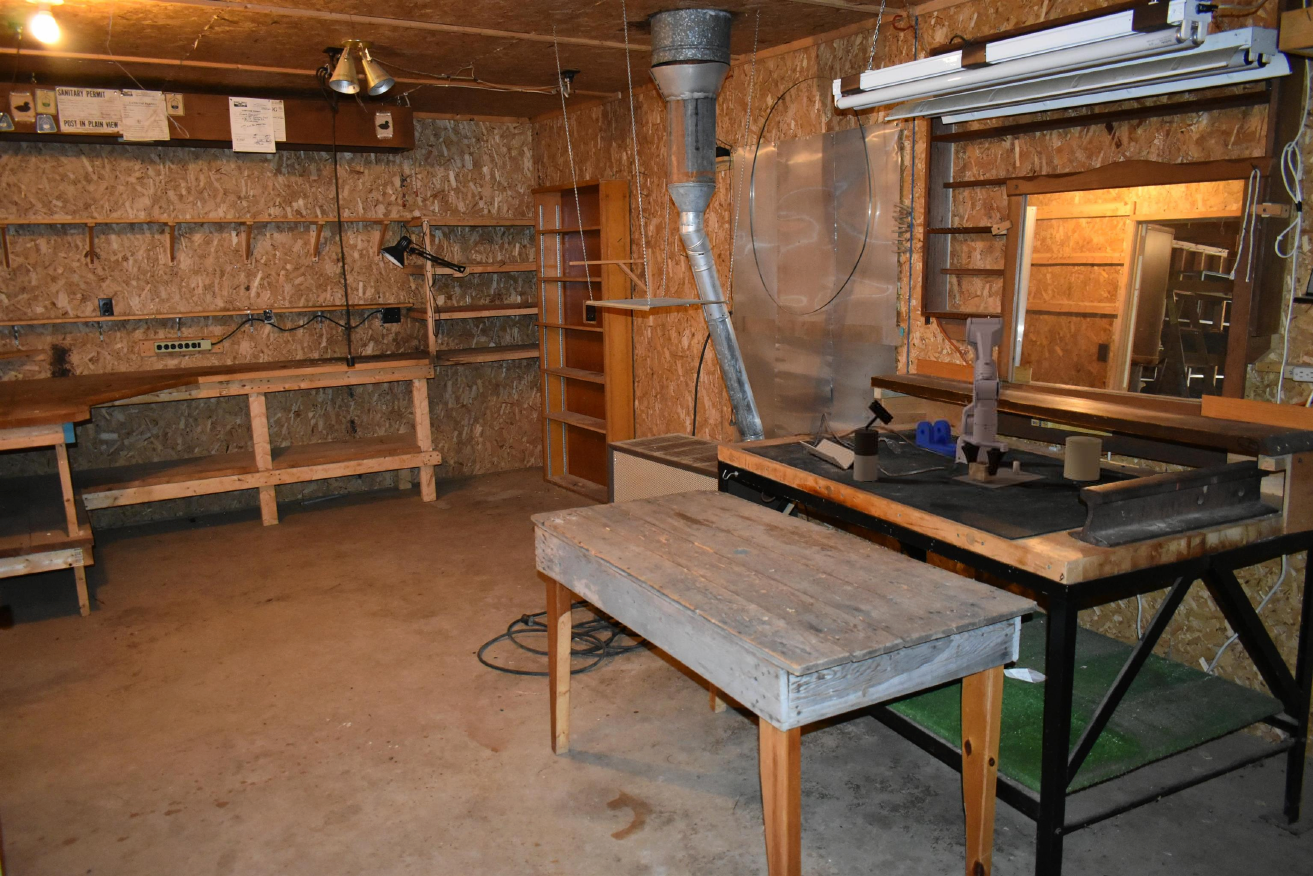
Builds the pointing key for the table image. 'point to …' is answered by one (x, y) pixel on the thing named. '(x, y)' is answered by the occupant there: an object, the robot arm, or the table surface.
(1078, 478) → the can
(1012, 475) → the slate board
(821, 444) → the beige v-shaped trough
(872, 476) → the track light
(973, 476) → the ash collar
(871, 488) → the table surface
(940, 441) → the bracket
